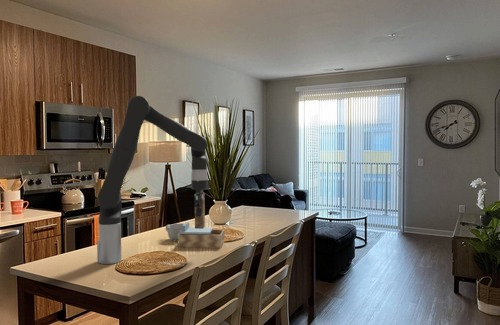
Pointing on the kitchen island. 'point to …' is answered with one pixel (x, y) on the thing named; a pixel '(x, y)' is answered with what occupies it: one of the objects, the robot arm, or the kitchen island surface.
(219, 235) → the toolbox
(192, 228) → the lid
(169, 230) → the teacup
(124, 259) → the kitchen island surface
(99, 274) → the kitchen island surface
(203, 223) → the brown rectangular block
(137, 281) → the kitchen island surface
